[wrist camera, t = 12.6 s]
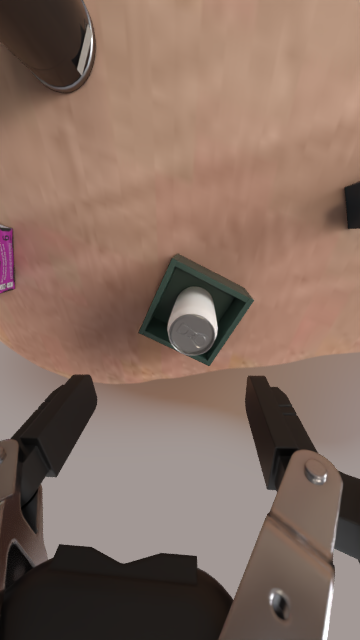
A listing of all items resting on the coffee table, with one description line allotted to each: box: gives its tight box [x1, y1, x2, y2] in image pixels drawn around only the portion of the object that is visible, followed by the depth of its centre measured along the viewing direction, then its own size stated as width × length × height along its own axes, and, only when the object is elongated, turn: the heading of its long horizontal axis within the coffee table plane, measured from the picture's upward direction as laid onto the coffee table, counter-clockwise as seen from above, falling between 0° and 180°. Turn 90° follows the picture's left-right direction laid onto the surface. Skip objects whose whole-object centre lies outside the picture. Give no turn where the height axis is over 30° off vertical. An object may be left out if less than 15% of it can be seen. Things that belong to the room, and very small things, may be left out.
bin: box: [139, 254, 254, 366], centre depth 33 cm, size 13×13×7 cm
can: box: [167, 287, 218, 356], centre depth 30 cm, size 6×6×12 cm
